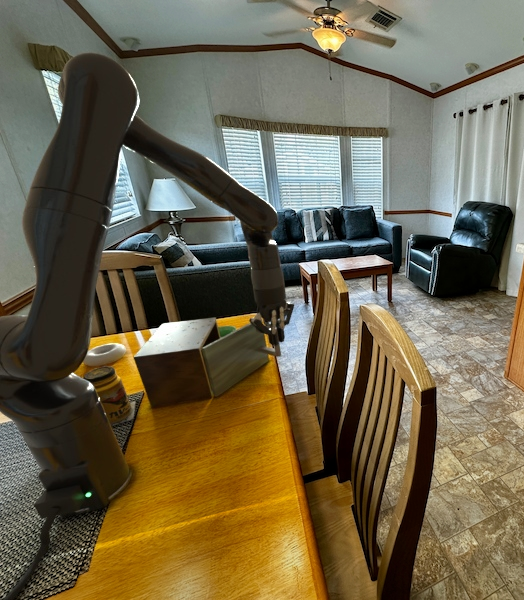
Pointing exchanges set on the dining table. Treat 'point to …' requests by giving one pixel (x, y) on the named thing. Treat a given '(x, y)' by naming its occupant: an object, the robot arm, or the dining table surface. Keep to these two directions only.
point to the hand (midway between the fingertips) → (277, 342)
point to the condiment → (111, 394)
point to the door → (236, 357)
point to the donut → (104, 354)
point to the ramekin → (226, 330)
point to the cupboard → (177, 362)
